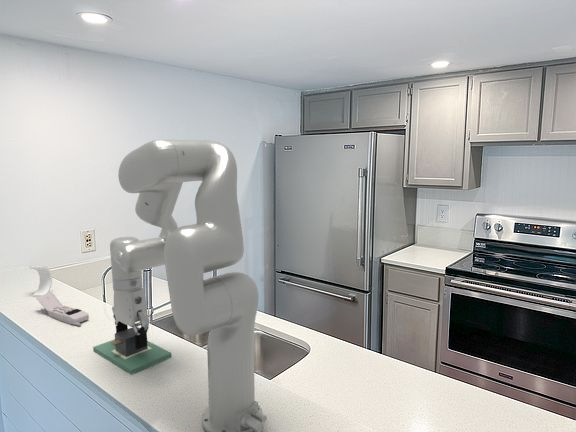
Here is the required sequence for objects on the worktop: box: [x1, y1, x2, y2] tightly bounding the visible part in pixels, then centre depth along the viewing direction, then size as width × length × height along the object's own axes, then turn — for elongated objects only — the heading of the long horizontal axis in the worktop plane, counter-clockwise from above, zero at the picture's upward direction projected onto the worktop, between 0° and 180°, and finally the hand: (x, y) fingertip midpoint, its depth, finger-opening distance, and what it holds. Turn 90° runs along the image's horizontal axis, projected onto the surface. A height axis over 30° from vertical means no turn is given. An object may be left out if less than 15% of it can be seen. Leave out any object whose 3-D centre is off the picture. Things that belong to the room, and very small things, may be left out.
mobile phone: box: [35, 291, 90, 327], centre depth 144 cm, size 6×6×25 cm
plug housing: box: [111, 327, 148, 357], centre depth 116 cm, size 6×8×5 cm, turn 140°
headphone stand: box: [29, 265, 53, 298], centre depth 165 cm, size 5×6×12 cm
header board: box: [92, 338, 172, 375], centre depth 117 cm, size 20×12×4 cm, turn 50°
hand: (131, 342), depth 117 cm, fingers open, 9 cm apart
